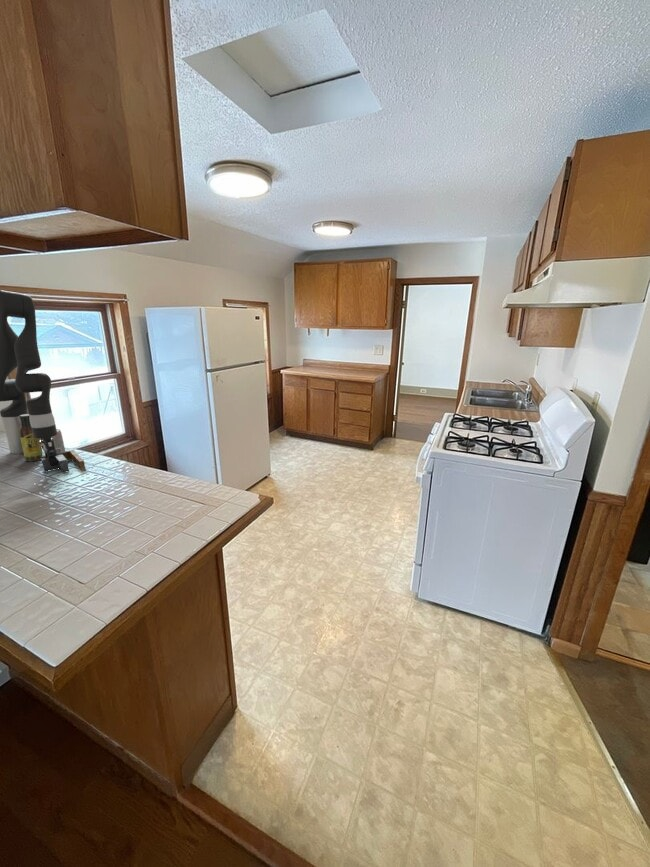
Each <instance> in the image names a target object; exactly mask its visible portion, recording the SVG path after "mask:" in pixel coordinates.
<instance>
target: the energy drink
mask: <svg viewBox="0 0 650 867" xmlns="http://www.w3.org/2000/svg"><path fill="white" fill-rule="evenodd" d="M56 429H57V428H56ZM51 439H53V440H54V445H55V448H56V453H59V452H64V451H66V447H65V444H64V439H63V434H62V431H61V429H57V435H55V436H52V437H51ZM52 454H53V452H52Z"/></svg>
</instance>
